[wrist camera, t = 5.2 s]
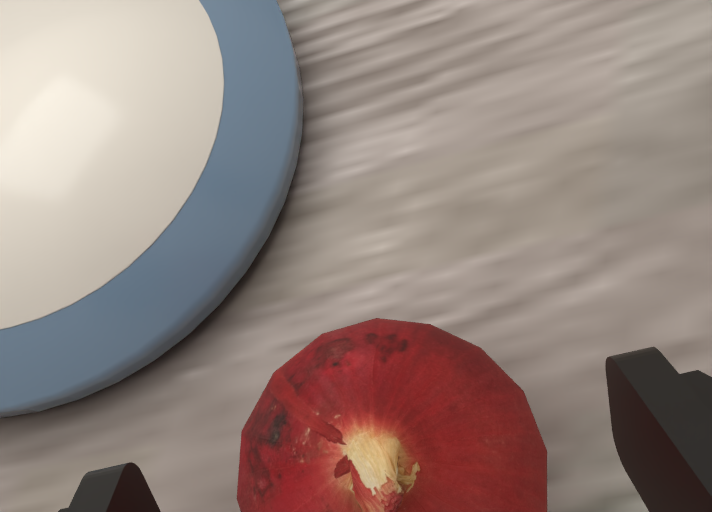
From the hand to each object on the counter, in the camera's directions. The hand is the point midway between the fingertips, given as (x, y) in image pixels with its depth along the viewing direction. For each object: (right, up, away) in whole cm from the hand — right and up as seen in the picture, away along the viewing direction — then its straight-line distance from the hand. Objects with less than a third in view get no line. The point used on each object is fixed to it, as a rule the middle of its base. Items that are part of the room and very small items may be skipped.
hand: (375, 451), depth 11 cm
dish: (-10, +7, +10) cm, 16 cm away
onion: (+1, -2, +5) cm, 6 cm away
